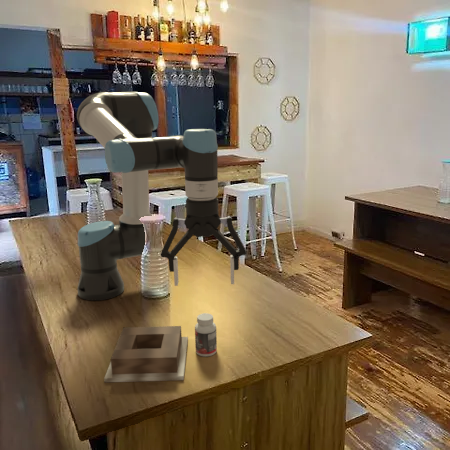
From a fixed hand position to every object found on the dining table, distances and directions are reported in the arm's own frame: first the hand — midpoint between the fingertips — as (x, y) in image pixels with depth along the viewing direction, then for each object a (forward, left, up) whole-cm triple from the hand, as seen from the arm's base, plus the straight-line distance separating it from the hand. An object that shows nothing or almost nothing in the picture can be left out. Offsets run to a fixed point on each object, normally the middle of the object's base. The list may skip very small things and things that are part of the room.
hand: (204, 283), depth 110 cm
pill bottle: (0, 0, -19) cm, 19 cm away
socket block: (-14, -3, -19) cm, 24 cm away
